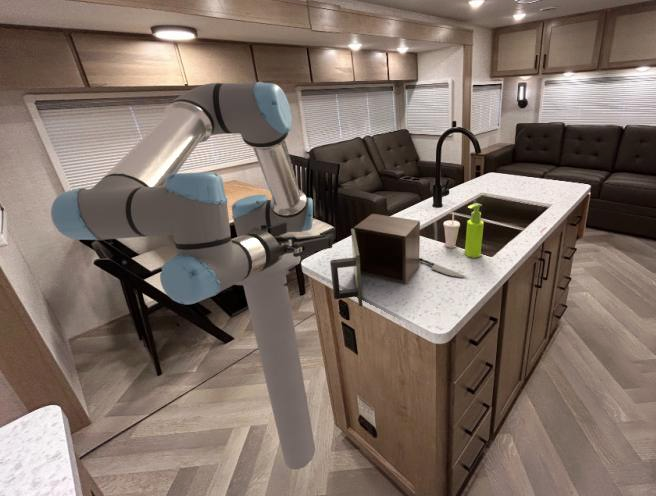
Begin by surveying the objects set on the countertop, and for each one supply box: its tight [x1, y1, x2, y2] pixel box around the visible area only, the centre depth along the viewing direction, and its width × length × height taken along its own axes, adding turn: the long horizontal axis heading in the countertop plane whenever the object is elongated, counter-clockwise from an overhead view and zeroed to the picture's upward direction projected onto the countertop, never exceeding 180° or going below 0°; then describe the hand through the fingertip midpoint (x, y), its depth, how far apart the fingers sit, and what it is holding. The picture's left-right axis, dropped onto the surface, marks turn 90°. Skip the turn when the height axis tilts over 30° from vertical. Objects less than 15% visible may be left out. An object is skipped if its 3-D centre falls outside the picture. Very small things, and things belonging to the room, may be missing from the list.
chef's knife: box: [419, 257, 467, 278], centre depth 110 cm, size 19×1×3 cm
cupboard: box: [353, 213, 421, 285], centre depth 108 cm, size 13×18×17 cm
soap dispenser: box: [464, 202, 485, 259], centre depth 117 cm, size 6×7×20 cm
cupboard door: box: [329, 228, 364, 307], centre depth 97 cm, size 8×18×17 cm, turn 12°
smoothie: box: [443, 212, 461, 249], centre depth 125 cm, size 6×6×14 cm
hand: (309, 230), depth 81 cm, fingers open, 13 cm apart
